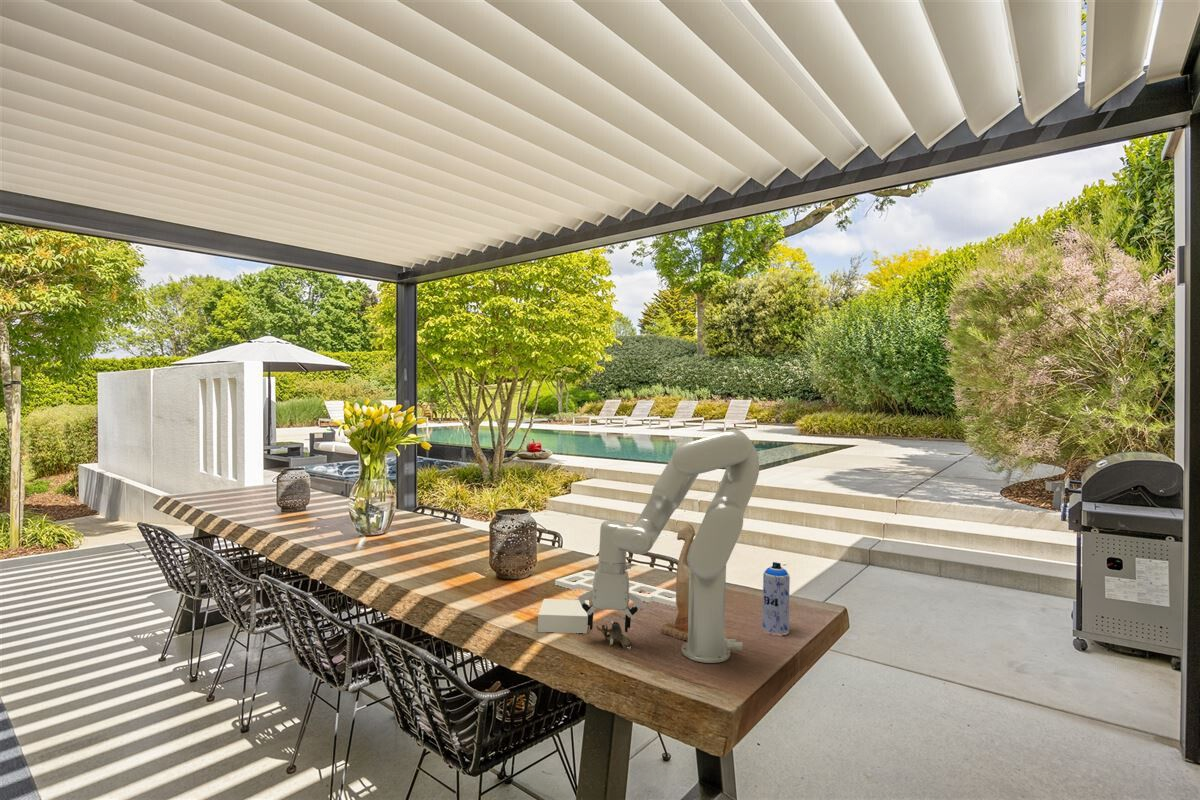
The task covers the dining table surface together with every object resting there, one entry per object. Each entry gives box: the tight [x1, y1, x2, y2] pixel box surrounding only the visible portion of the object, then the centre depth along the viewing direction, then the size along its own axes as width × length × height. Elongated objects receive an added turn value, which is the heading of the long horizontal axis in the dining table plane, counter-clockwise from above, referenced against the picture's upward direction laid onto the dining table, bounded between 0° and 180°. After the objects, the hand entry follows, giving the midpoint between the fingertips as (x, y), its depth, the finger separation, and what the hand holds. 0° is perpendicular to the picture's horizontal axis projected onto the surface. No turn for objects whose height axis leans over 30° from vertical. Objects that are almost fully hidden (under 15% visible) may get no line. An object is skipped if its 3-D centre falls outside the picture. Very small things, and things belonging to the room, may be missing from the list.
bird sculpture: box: [660, 523, 696, 642], centre depth 174 cm, size 11×12×32 cm
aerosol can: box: [761, 561, 791, 634], centre depth 177 cm, size 8×8×20 cm
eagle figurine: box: [596, 620, 633, 649], centre depth 165 cm, size 8×7×9 cm
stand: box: [537, 598, 590, 635], centre depth 179 cm, size 14×14×5 cm
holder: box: [554, 569, 677, 607], centre depth 209 cm, size 45×18×3 cm, turn 51°
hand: (608, 629), depth 165 cm, fingers open, 9 cm apart
